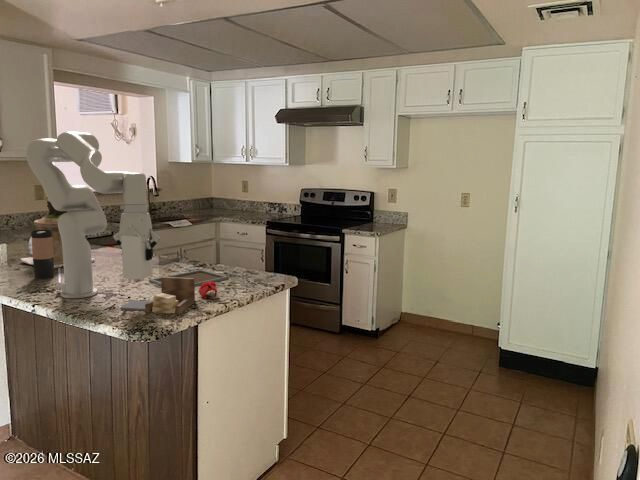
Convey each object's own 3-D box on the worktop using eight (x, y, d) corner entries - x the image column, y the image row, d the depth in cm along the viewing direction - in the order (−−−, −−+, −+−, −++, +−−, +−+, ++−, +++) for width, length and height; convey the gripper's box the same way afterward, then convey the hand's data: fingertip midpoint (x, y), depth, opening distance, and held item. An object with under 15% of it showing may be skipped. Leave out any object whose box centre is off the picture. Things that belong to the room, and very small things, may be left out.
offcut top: (154, 300, 166) (154, 295, 166) (162, 298, 169) (162, 293, 169) (168, 303, 163) (167, 298, 163) (175, 301, 166) (175, 296, 166)
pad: (120, 309, 168) (120, 307, 167) (132, 301, 176) (132, 300, 176) (145, 310, 167) (145, 308, 167) (156, 302, 176) (156, 301, 176)
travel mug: (48, 274, 212) (45, 229, 208) (58, 277, 208) (55, 230, 204) (30, 277, 205) (27, 231, 202) (40, 280, 201) (37, 233, 198)
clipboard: (228, 276, 213) (169, 289, 190) (228, 280, 213) (169, 293, 190) (201, 269, 225) (142, 280, 202) (201, 272, 225) (142, 284, 202)
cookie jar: (47, 270, 218) (42, 199, 213) (18, 263, 231) (13, 196, 225) (97, 261, 239) (94, 196, 234) (68, 255, 252) (64, 193, 246)
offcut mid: (153, 306, 166) (152, 301, 165) (159, 303, 169) (159, 298, 169) (172, 309, 164) (172, 303, 164) (178, 305, 168) (178, 300, 167)
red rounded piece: (222, 289, 185) (217, 278, 188) (210, 286, 180) (204, 275, 184) (211, 303, 187) (205, 292, 191) (198, 301, 183) (193, 290, 186)
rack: (145, 313, 164) (144, 287, 163) (163, 300, 179) (162, 276, 178) (179, 314, 163) (179, 289, 162) (194, 301, 178) (194, 278, 177)
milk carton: (123, 278, 167) (120, 224, 164) (135, 274, 174) (133, 221, 171) (141, 280, 166) (139, 225, 162) (153, 275, 172) (151, 222, 169)
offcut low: (152, 313, 165) (152, 307, 165) (157, 310, 169) (157, 304, 169) (175, 315, 165) (175, 308, 164) (179, 311, 169) (179, 305, 168)
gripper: (105, 209, 163) (108, 260, 166) (155, 210, 161) (157, 262, 164) (116, 207, 170) (118, 256, 173) (164, 208, 169) (166, 258, 172)
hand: (137, 258), depth 169 cm, fingers closed on milk carton, 7 cm apart
